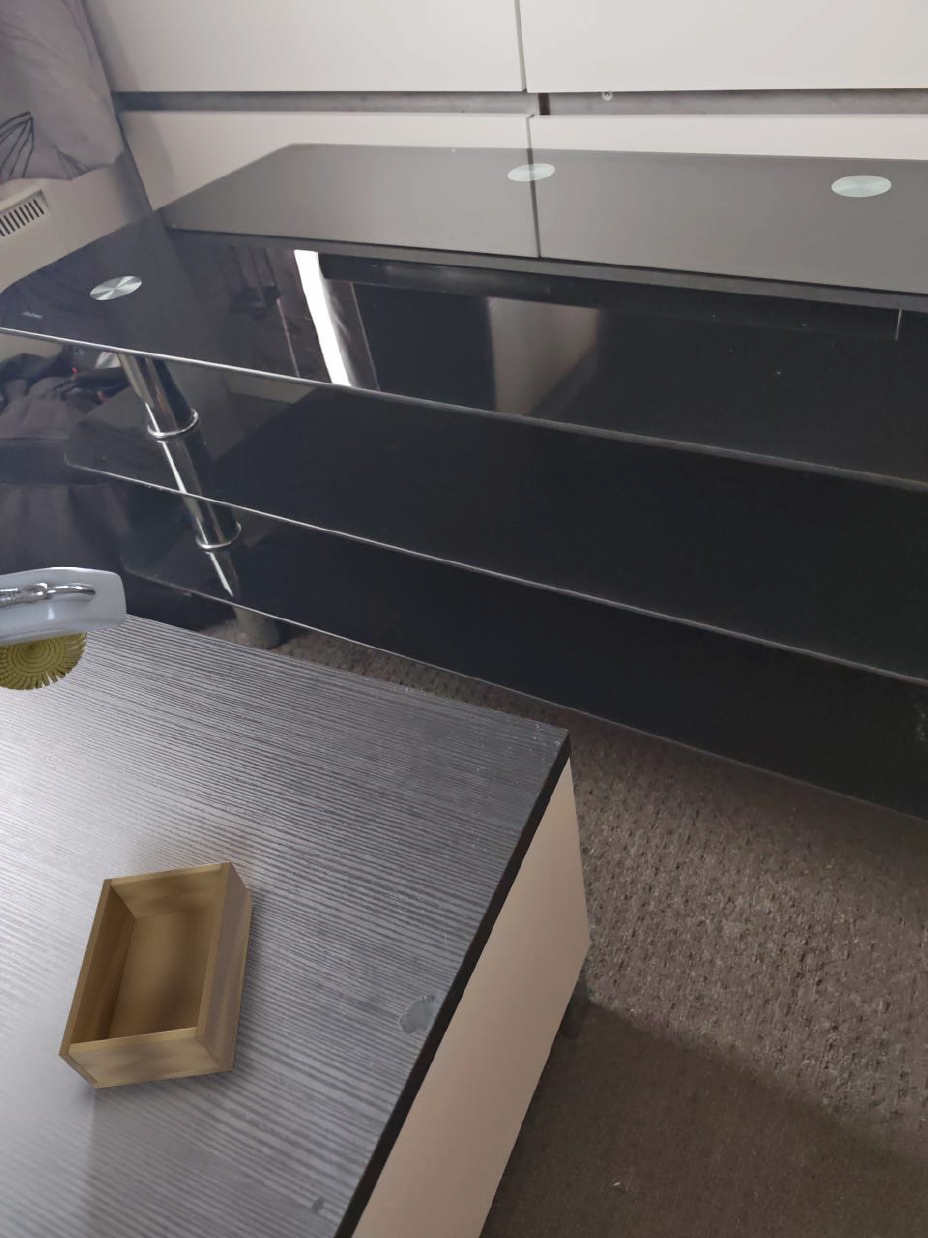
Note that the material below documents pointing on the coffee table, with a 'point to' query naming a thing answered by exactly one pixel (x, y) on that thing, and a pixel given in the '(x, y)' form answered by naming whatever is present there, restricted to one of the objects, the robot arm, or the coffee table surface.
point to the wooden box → (161, 977)
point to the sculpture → (38, 652)
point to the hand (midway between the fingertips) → (25, 625)
